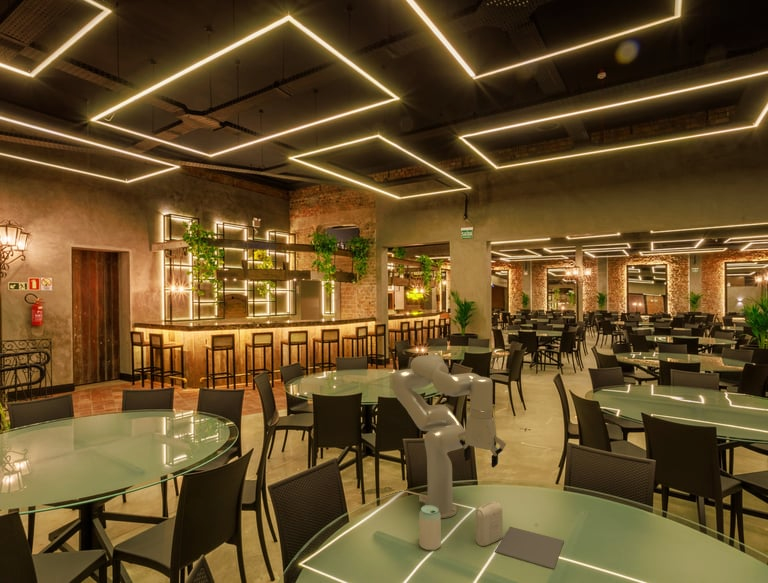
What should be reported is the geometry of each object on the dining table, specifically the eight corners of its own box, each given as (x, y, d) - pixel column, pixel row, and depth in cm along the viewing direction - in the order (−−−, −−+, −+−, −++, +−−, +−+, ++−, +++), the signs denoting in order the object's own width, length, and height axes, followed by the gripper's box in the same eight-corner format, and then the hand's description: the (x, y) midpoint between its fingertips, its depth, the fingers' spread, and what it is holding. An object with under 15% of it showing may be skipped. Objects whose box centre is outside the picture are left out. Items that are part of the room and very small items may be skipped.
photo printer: (494, 533, 151) (494, 497, 151) (504, 538, 147) (504, 501, 148) (473, 542, 145) (473, 505, 145) (483, 548, 141) (483, 510, 142)
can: (442, 542, 145) (442, 505, 146) (438, 553, 139) (438, 515, 139) (422, 538, 148) (422, 502, 148) (417, 549, 141) (416, 512, 141)
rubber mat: (494, 552, 139) (494, 551, 139) (509, 527, 154) (509, 526, 154) (554, 569, 130) (554, 568, 130) (563, 541, 145) (563, 540, 145)
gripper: (453, 411, 152) (453, 460, 152) (501, 420, 142) (501, 472, 142) (462, 407, 158) (462, 454, 158) (509, 415, 148) (509, 465, 148)
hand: (480, 462), depth 150 cm, fingers open, 9 cm apart
